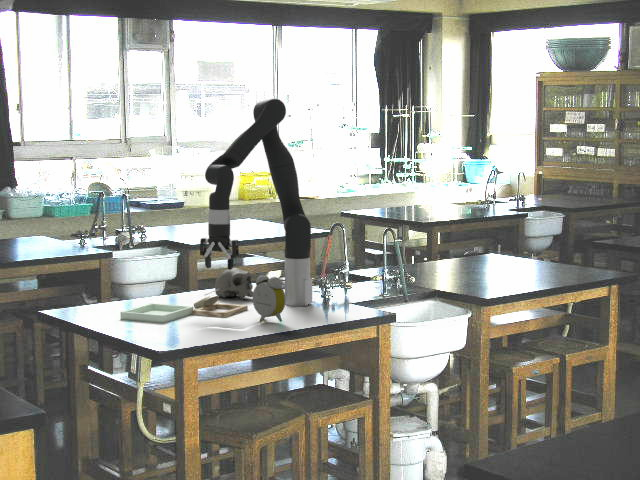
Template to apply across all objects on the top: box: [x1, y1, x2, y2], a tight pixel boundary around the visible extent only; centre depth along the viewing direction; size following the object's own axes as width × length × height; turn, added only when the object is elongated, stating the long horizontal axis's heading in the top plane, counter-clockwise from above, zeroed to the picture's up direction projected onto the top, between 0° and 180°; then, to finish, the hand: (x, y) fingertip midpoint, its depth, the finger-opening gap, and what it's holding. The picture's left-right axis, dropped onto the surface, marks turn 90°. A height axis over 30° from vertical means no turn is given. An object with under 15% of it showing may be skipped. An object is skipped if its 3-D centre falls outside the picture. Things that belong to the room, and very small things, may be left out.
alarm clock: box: [252, 274, 286, 323], centre depth 346 cm, size 12×7×15 cm, turn 44°
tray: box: [119, 302, 194, 324], centre depth 355 cm, size 17×19×2 cm
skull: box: [214, 267, 254, 300], centre depth 393 cm, size 12×18×12 cm, turn 47°
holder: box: [191, 302, 249, 318], centre depth 363 cm, size 13×16×2 cm
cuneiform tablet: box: [193, 288, 222, 309], centre depth 368 cm, size 7×4×12 cm
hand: (219, 268), depth 362 cm, fingers open, 8 cm apart
